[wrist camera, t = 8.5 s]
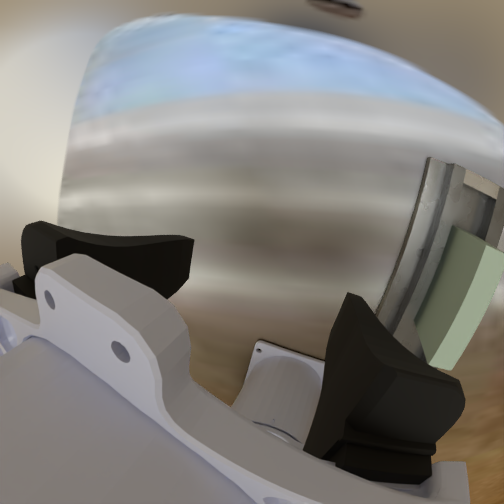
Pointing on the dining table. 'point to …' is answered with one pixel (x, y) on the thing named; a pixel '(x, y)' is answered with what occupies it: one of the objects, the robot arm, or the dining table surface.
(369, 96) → the dining table surface
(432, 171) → the door track
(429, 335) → the door panel
